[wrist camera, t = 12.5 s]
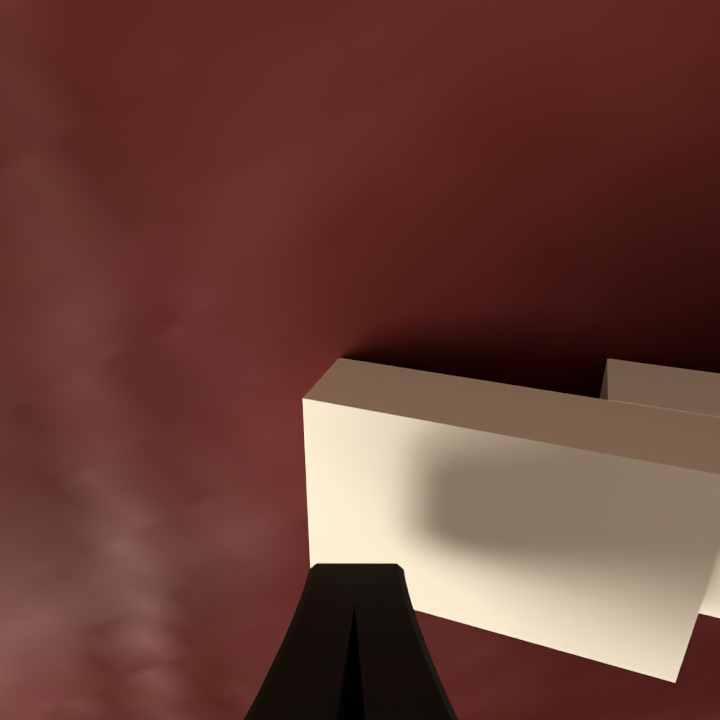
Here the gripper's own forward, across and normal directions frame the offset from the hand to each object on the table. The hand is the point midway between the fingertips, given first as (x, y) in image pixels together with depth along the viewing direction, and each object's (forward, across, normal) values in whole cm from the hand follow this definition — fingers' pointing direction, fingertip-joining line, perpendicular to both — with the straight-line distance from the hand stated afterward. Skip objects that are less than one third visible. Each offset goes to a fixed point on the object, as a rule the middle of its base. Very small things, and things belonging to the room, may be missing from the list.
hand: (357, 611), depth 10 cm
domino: (+4, +1, 0) cm, 4 cm away
